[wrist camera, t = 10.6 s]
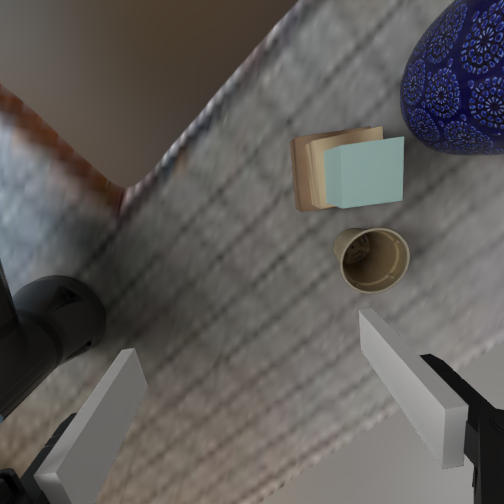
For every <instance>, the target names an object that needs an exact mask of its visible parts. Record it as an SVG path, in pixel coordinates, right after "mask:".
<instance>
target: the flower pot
mask: <svg viewBox="0 0 504 504" xmlns="http://www.w3.org/2000/svg"><path fill="white" fill-rule="evenodd" d="M363 236H364V237H365V239H366V242H365V241H364V240H363ZM352 246H354V248H351V247H352ZM333 251H334V254H335V257H336V258H337V260H338V261H339V263H340V270H341V274H342V276H343V278H344V280H345V282H346V283H347V284H348V285H349V286H350V287H351V288H353V289H355V290H356V291H359V292H362V293H367V294H375V293H380V292H383V291H386V290H388V289H390V288H391V287H393V286H394V285H396V284H397V283H398V282H399V281H400V280H401V279H402V277H403V276H404V274H405V273H406V271H407V269H408V266H409V262H410V251H409V247H408V245H407V243H406V241H405V240H404V239H403V237H402V236H401V235H400V234H398V233H397V232H395V231H393V230H390V229H387V228H371V229H367V230H363V229H357V228H352V229H348V230H345V231H343V232H342V233H341V234H339V235H338V237H337V238H336V240H335V243H334V247H333ZM360 256H362V258H361V259H359V260H356V259H357V258H359V257H360Z"/></svg>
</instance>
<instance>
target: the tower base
mask: <svg viewBox="0 0 504 504" xmlns="http://www.w3.org/2000/svg"><path fill="white" fill-rule="evenodd" d="M366 129H371V126H369V127H363V128H356V129H349V130H342V131H336V132H329V133H322V134H315V135H308V136H302V137H295V138H294V139H293V140H292V141H291V142H290V146H291V157H292V169H293V180H294V191H295V202H296V209H298V210H299V211H301V212H306V211H313V210H320V208H318V207H316V206H314V205H312V199H311V192H310V184H309V177H308V169H307V162H306V154H305V147H304V146H305V145H306V144H308V143H310V142H312V141H314V140H319V139H324V138H328V137H333V136H338V135H342V134H347V133H352V132H356V131H361V130H366ZM335 207H337V206H334V207H329V208H335ZM324 209H328V208H324Z"/></svg>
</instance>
